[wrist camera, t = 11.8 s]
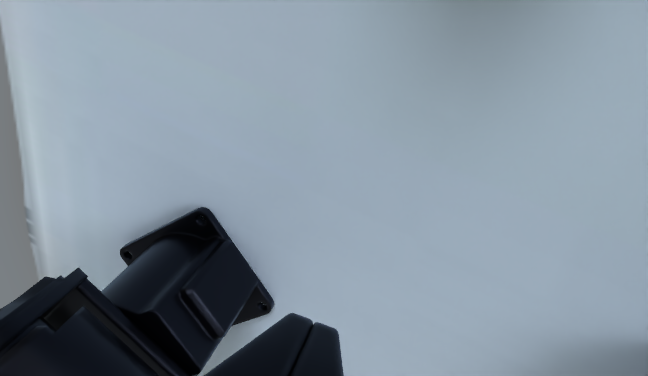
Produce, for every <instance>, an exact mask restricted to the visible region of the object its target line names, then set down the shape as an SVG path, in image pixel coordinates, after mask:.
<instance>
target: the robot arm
mask: <svg viewBox="0 0 648 376" xmlns="http://www.w3.org/2000/svg"><path fill="white" fill-rule="evenodd" d="M200 216H203V217H204V218H205V220H206V221H205V220H203V219H202V218H201V217H200ZM129 252H130V253H131V254H132V255H131V254H130V253H129ZM120 255H121V257H122V259H123V260H124V261H125V263H126V264H127V265H128V267H127V268H126V269H125V270H124V271H123V272H122V273H121V274H120V275H119V276H117V277H116V278H115V279H114V280H113V281H112V282H111V283H110V284H109V285H108V286H107V287H106V288H105V289H104V290H102V291H100V290H99V289H97V288H96V287H95V286H94V285H93V284H92V283H91V282H90V281H89V280H88V279H87V277H88V276H87V275H86V274H85V273H84V272H83V271H82V270H81V269H80V268H77V269H76V270H75V271H73V272H72V273H71V274H69V275H68V276H67V277H65V278H63V277H62V276H59V277H58V278H56V279H55V278H50V277H44V278H43V279H42V280H40V281H39V282H38V283H37V284H35V285H34V286H33V287H31V288H30V289H29V290H27V291H26V292H25V293H24V294H22V295H21V296H20V297H18V298H17V299H16V300H14V301H13V302H11V303H10V304H8V305H6V306H5V307H3V308H1V309H0V376H197V375H198V374H199V373H200V372H201V371H202V369H203V367H204V366H205V364H206V363H207V361H208V360H209V358H210V357H211V355H212V353H213V352H214V350H215V349H216V347H217V346H218V344H219V343H220V341H221V339H222V338H223V337H224V336H225V335H226V333H227V332H228V330H229V329H230V327H231V326H233V325H236V324H239V323H241V322H244V321H247V320H250V319H253V318H256V317H259V316H262V315H265V314H268V313H269V312H270V311H271V310H272V308H273V306H274V301H273V299H272V297H271V296H270V294H269V293H268V291H267V290H266V289H265V287H264V286H263V284H262V283H261V282H260V280H259V279H258V277H257V276H256V274H255V273H254V272H253V270H252V269H251V267H250V266H249V264H248V263H247V262H246V260H245V259H244V257H243V256H242V254H241V253H240V252H239V250H238V249H237V247H236V246H235V245H234V243H233V242H232V240H231V239H230V237H229V236H228V235H227V233H226V232H225V230H224V229H223V227H222V226H221V225H220V223H219V222H218V220H217V219H216V218H215V216H214V215H213V213H212V212H211V211H210V210H209V209H207V208H204V207H201V208H198V209H196V210H194V211H192V212H190V213H188V214H186V215H184V216H182V217H180V218H178V219H176V220H174V221H172V222H170V223H168V224H166V225H164V226H162V227H160V228H158V229H156V230H154V231H152V232H150V233H148V234H146V235H144V236H142V237H140V238H138V239H136V240H134V241H132V242H130V243H128V244H126V245H125V246H124V247H123V248H122V249H121V250H120ZM261 302H262V303H265V304H266V305H263V304H262V303H261ZM204 376H344V375H343V367H342V359H341V350H340V342H339V334H338V331H337V330H336V329H334V328H332V327H329V326H327V325H324V324H321V323H318V322H317V323H315V324H314V325H313V322H312V320H310V319H308V318H305V317H303V316H300V315H297V314H295V313H290V314H288V315H287V316H285V317H284V318H282V319H281V320H280V321H278V322H277V323H276V324H274V325H273V326H272V327H270V328H269V329H267V330H266V331H265V332H263V333H262V334H261V335H259V336H258V337H256V338H255V339H254V340H252V341H251V342H250V343H248V344H247V345H245V346H244V347H243V348H241V349H240V350H239V351H237V352H236V353H234V354H233V355H232V356H230V357H229V358H228V359H226V360H225V361H223V362H222V363H221V364H219V365H218V366H217V367H215V368H214V369H212V370H211V371H210V372H208V373H207V374H206V375H204Z"/></svg>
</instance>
